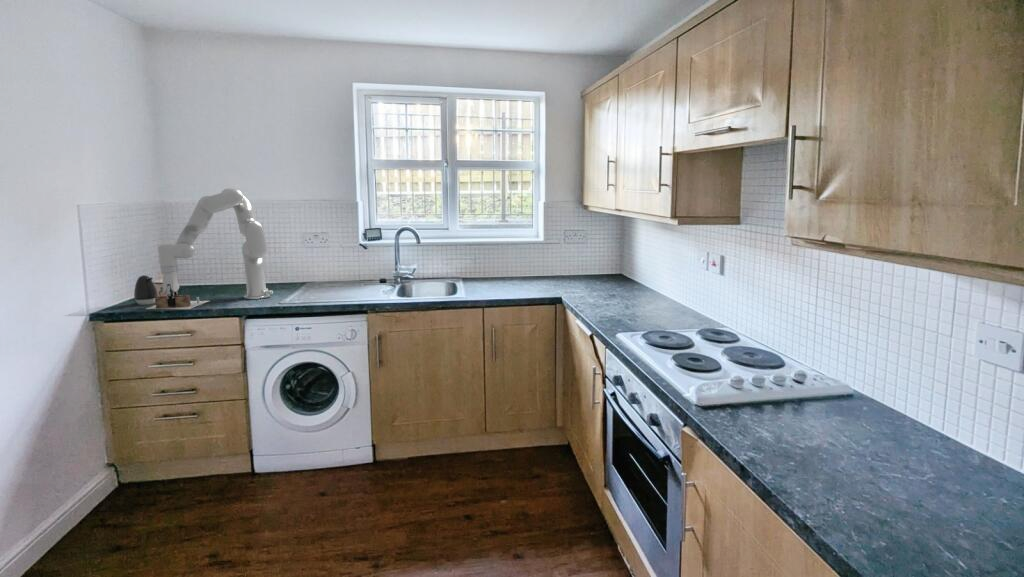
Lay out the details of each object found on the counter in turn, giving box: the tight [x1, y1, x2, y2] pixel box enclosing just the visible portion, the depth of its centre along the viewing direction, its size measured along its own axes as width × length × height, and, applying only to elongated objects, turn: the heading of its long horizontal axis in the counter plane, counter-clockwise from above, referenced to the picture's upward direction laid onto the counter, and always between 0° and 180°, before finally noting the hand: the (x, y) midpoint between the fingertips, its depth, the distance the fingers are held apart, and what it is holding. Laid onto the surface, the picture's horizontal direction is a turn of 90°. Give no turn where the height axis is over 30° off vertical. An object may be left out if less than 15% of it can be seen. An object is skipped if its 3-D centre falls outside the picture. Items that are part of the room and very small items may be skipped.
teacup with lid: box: [153, 275, 180, 296], centre depth 303 cm, size 12×9×12 cm
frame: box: [154, 294, 191, 310], centre depth 278 cm, size 14×6×5 cm, turn 110°
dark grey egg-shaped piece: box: [133, 274, 158, 306], centre depth 284 cm, size 10×10×15 cm
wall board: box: [145, 296, 210, 310], centre depth 282 cm, size 22×19×4 cm
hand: (173, 304), depth 278 cm, fingers closed on frame, 6 cm apart
